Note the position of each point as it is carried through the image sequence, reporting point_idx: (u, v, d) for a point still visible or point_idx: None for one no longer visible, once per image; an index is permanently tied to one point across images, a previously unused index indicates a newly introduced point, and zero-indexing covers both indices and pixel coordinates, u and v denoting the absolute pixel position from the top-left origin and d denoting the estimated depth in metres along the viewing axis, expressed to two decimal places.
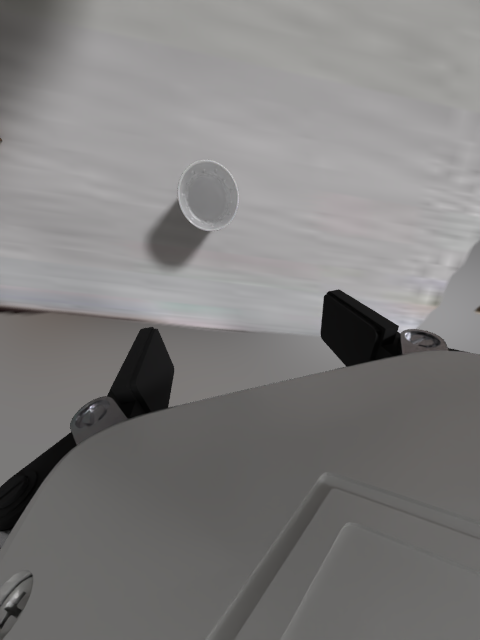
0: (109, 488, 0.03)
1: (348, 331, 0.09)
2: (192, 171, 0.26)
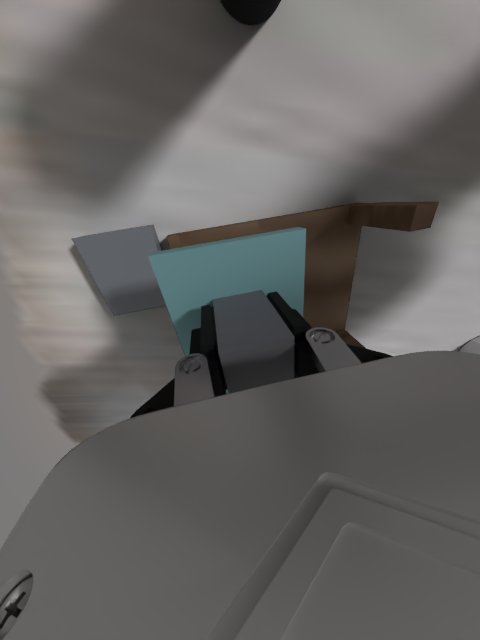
0: (109, 488, 0.03)
1: None
2: None
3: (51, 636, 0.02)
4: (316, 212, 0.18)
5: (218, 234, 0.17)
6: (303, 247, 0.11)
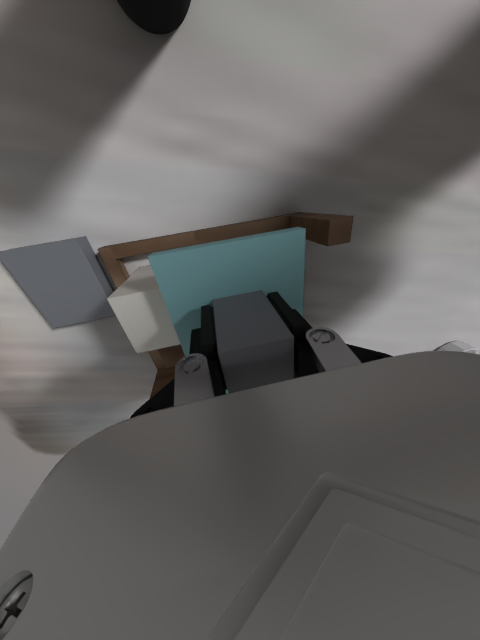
0: (109, 488, 0.03)
1: None
2: None
3: (51, 636, 0.02)
4: (254, 222, 0.17)
5: (152, 246, 0.17)
6: (303, 247, 0.11)
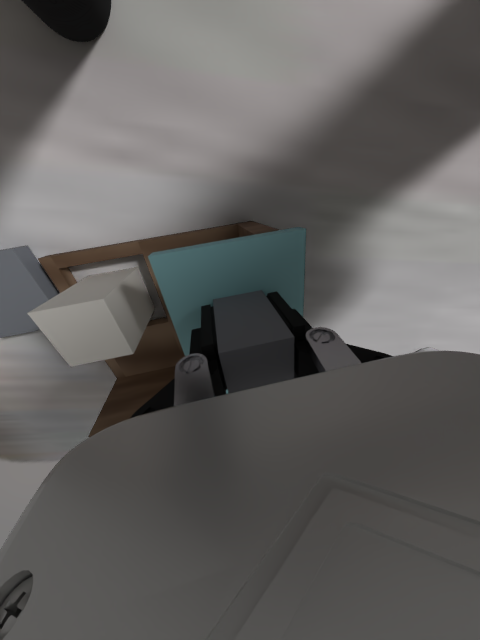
0: (109, 488, 0.03)
1: None
2: None
3: (51, 637, 0.02)
4: (201, 232, 0.17)
5: (96, 255, 0.17)
6: (303, 247, 0.11)
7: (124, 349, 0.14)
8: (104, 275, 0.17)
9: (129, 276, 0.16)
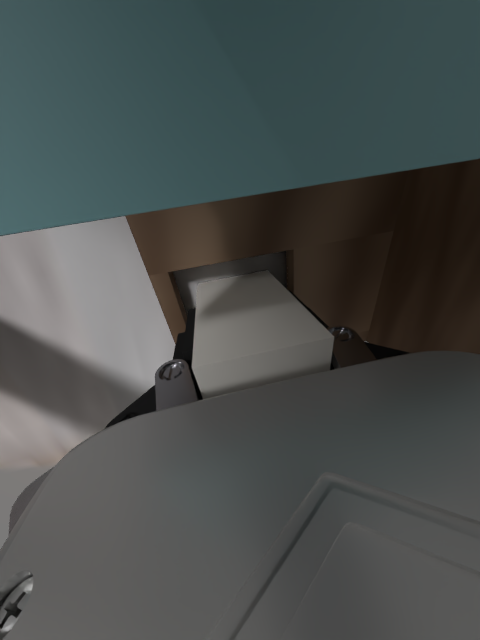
0: (109, 488, 0.03)
1: None
2: None
3: (51, 636, 0.02)
4: None
5: (179, 330, 0.12)
6: None
7: (317, 350, 0.06)
8: None
9: (198, 300, 0.10)
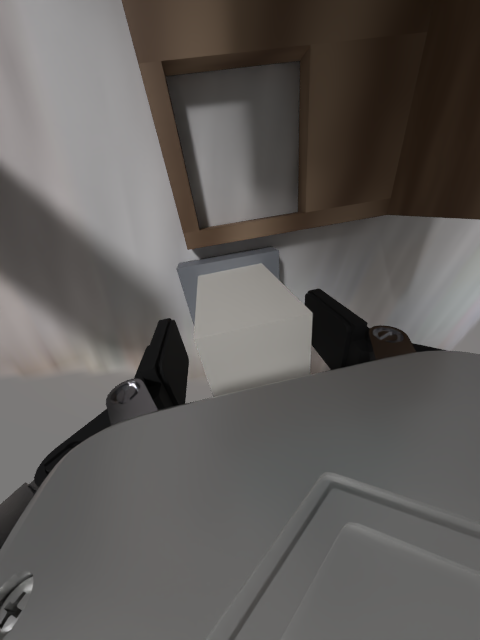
0: (109, 488, 0.03)
1: (325, 328, 0.10)
2: None
3: (51, 636, 0.02)
4: None
5: (175, 165, 0.11)
6: None
7: (298, 325, 0.08)
8: None
9: (199, 289, 0.11)
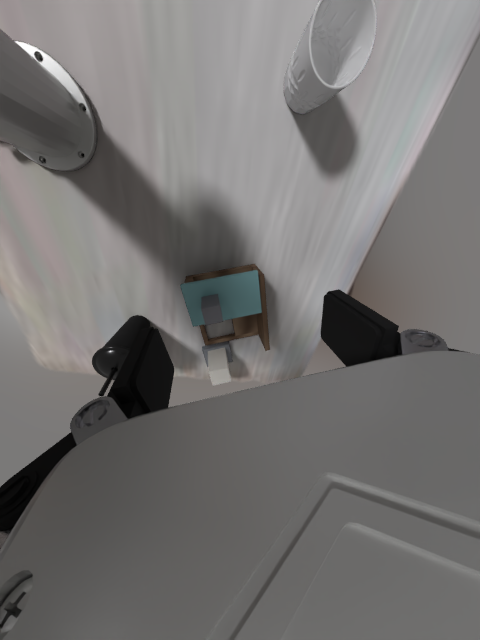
0: (109, 488, 0.03)
1: (348, 331, 0.09)
2: None
3: (51, 636, 0.02)
4: None
5: (203, 331, 0.48)
6: (186, 285, 0.34)
7: (225, 369, 0.45)
8: None
9: (208, 357, 0.49)
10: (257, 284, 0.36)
